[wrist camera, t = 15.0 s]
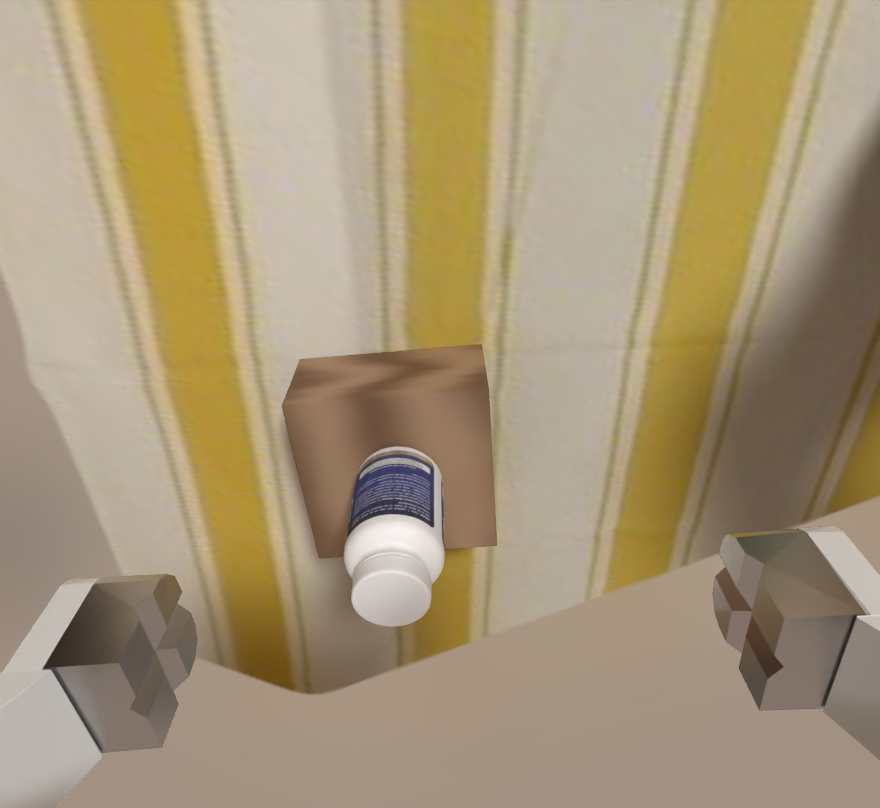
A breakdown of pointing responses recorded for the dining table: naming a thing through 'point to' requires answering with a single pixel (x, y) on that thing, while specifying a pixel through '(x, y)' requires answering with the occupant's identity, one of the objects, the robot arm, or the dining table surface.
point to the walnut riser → (394, 434)
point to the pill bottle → (395, 536)
